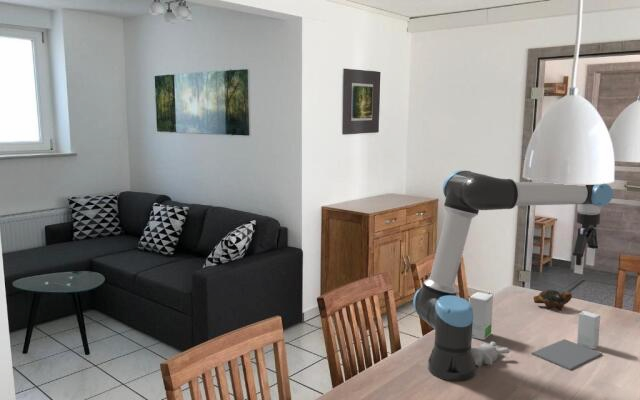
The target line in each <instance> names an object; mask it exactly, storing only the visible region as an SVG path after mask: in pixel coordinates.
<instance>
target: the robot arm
mask: <svg viewBox="0 0 640 400" xmlns="http://www.w3.org/2000/svg"><path fill="white" fill-rule="evenodd" d="M544 182H545V181H515V180H513V178H500V177H494V176H491V175H488V174H487V175H486V174H484V173H483V174H482V173H479V172H474V171H471V170H456V171H453V172H452V173H450V174H448V176H447V177H446V178H445V180H444V182H443V185H442V192H443V193H442V194H443V195H444V198H445V199H444V200H445V201H444V204H443V207H444V209H445V211H446V214H445V218H444V220H443V221H444V222H443V225H442V228H441V229H442V230H441V233H440V237H439V240H438V244H437V248H436V251H435V255H434V259H433V263H432V266H431V267H432V268H431V271H430V274H429V278H427V279H426V280H424V281H423V284H422V286H421V287H420V288H419V289H417V290H416V291H415V294H414V296H413V301H412V303H413V308H414V311H415V313H416V314H417V315H418V316H419V318H420V319H422V321H424V322H425V323H427V324H428V325H429V326H430V327H431V328H433V330H434V342H433V345H434V346H433V348H432V350H431V352H430V355H429V358H428V361H427V362H428V363H427V368H428V371H429V372H430V373H431V375H434V376H436V377H437V378H439V379H442V380H447V381H451V382H452V381H453V382H454V381H455V382H460V381H461V382H462V381H468V380H470V379H472V378H474V377H475V375H476V370H477V365H475V362H474V360H473V355H472V351H471V348H472V342H473V340H472V338H473V337H472V326H473V318H474V317H473V307H472V305H471V304H470V301H468V300H467V299H465V298H463V297H459V296H457V293H458V290H457V288H456V287H455V282H456V280H457V274H458V271H459V268H460V264H461V260H462V256H463V252H464V249H465V245H466V242H467V238H468V234H469V230H470V226H471V223H472V220H473V218H475V217H477V216H478V215H479V211H495V210H512V209H515V207H516V206H517V207H518V206H519V207H520V206H553V205H554V206H556V205H557V206H559V205H560V206H562V205H577V209H576V210H577V214H576V223H578V224H580V225H581V227H578V229H577V235H576V236H577V237H576V241H575V245H574V250H573V252H572V255H573V256H574V270H573V273H574V274H579V275H583V273H584V262H585V265H586V266H591V267H594V266H595V260H596V259H595V258H596V257H595V256H596V249H598V248H599V245H598V233H597V232H598V231H597V225H599V224H600V220H601V214H600V213H601V208H603V207H604V206H607V205H608V204H610V203H611V201H612V200H613V196H614V192H613V188H612V187H611V185H609V184H608V183H604V184H601V185H586V186H577V185H564V184H554V183H544ZM585 252H586V258H585V256H584V253H585ZM584 260H585V261H584Z"/></svg>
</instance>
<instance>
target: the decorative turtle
mask: <svg viewBox="0 0 640 400" xmlns="http://www.w3.org/2000/svg"><path fill="white" fill-rule="evenodd" d="M572 298H573V295H572V293H571V292H570V291H563V292H562V293H561V292H560V291H557V290H555V289H547V290H544V291H541V292H539V294H538V295H535V296H533V298H532V299H533V302H534V303H535V304H544V305H545V307H546V309H547V310H552V309H553V308H555V309H556V310H557V311H559V312H561V311H562V310H563V309H564V307H565V305H567V304H568V303H569V302H570V301H571V300H572Z"/></svg>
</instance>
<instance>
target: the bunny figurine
mask: <svg viewBox="0 0 640 400" xmlns="http://www.w3.org/2000/svg"><path fill="white" fill-rule="evenodd" d="M496 346H497V342H496V341H490V343H485V342H484V343H481V344H480V345H478V347H471V351H472V355H473V360H474V362H475V365H476V367H477V366H478V367H482V366H483V365H489V366H492V365H493V362H495V361H496V360H497V358H498V356H499V354H500V355H501V354H502V355H503V354H504V355H505V354H509V353H510V350H509V348H508V347H506V346H505V347H499V348H497V347H496Z"/></svg>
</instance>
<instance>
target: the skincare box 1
mask: <svg viewBox="0 0 640 400" xmlns="http://www.w3.org/2000/svg"><path fill="white" fill-rule="evenodd" d="M493 300H494V294H490V293H485V292H481V291H477V292H475V293H473V294H472V295H471V296H470V297H469V303H470V304H471V305H472V307H473V317H474V318H473V326H472V338H474V339H477V340H481V341H485V340H486V339H487V338H488V337H490V335H491V334H492V324H493V323H492V321H493V307H494V306H493V302H494V301H493Z"/></svg>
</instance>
